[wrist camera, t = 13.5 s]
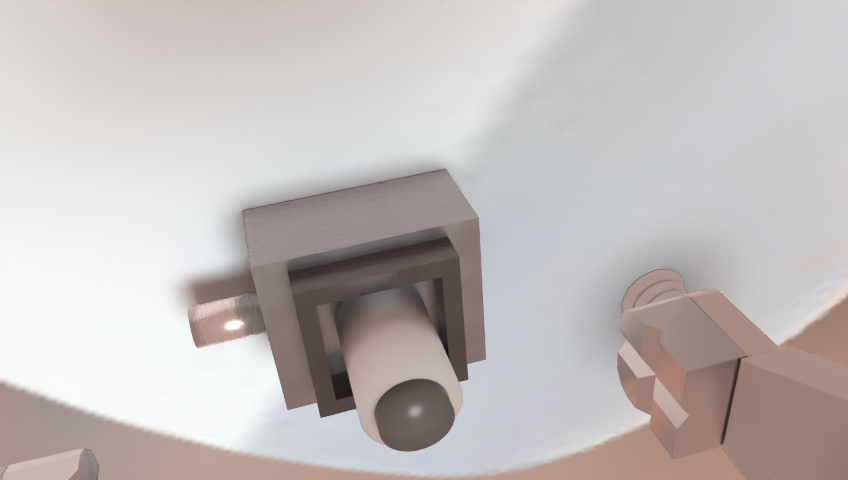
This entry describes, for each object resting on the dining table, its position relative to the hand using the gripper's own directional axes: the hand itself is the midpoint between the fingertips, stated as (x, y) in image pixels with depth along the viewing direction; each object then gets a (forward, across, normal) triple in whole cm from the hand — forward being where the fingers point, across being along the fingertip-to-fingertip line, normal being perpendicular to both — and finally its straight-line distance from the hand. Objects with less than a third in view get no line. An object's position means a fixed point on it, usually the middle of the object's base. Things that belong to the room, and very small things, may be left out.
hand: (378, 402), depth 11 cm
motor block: (+29, -1, +17) cm, 34 cm away
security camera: (+23, -3, +17) cm, 29 cm away
